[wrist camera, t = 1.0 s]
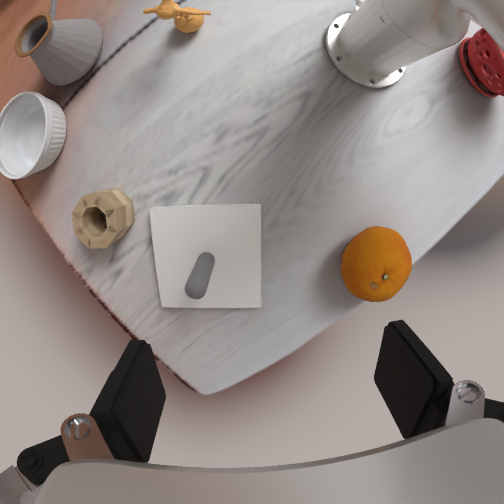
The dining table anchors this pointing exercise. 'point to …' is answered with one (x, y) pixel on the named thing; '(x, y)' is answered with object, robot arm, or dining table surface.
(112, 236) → the bead
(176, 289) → the post board
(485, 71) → the plant pot
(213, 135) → the dining table surface
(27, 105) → the ramekin
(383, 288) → the fruit
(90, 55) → the coffee pot
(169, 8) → the figurine
